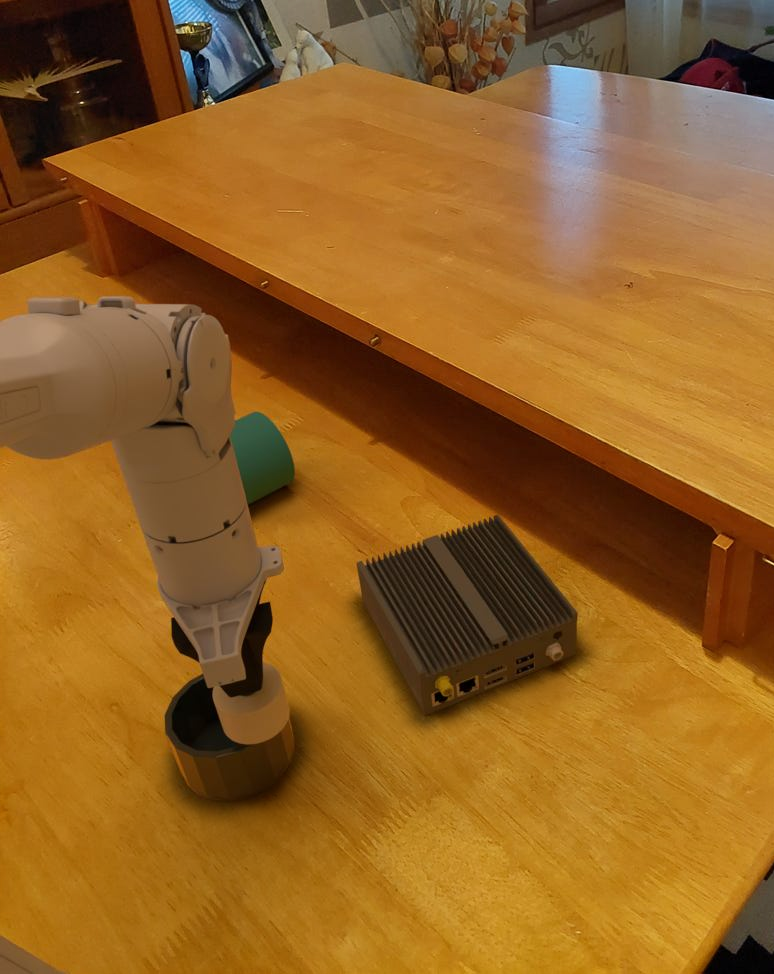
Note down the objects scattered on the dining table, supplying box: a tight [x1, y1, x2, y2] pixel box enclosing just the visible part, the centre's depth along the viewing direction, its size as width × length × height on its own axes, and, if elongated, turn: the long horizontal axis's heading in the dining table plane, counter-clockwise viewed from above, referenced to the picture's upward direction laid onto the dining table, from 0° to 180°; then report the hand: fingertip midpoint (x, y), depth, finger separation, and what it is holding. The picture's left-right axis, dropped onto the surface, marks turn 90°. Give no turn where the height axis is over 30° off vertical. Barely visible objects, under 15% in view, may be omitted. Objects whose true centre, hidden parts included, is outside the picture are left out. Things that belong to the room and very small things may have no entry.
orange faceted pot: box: [164, 673, 296, 803], centre depth 65 cm, size 8×8×5 cm
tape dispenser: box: [230, 411, 296, 506], centre depth 92 cm, size 7×15×8 cm, turn 43°
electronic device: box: [356, 514, 579, 716], centre depth 74 cm, size 13×15×5 cm
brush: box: [213, 662, 291, 744], centre depth 59 cm, size 4×4×8 cm
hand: (243, 677), depth 59 cm, fingers closed on brush
